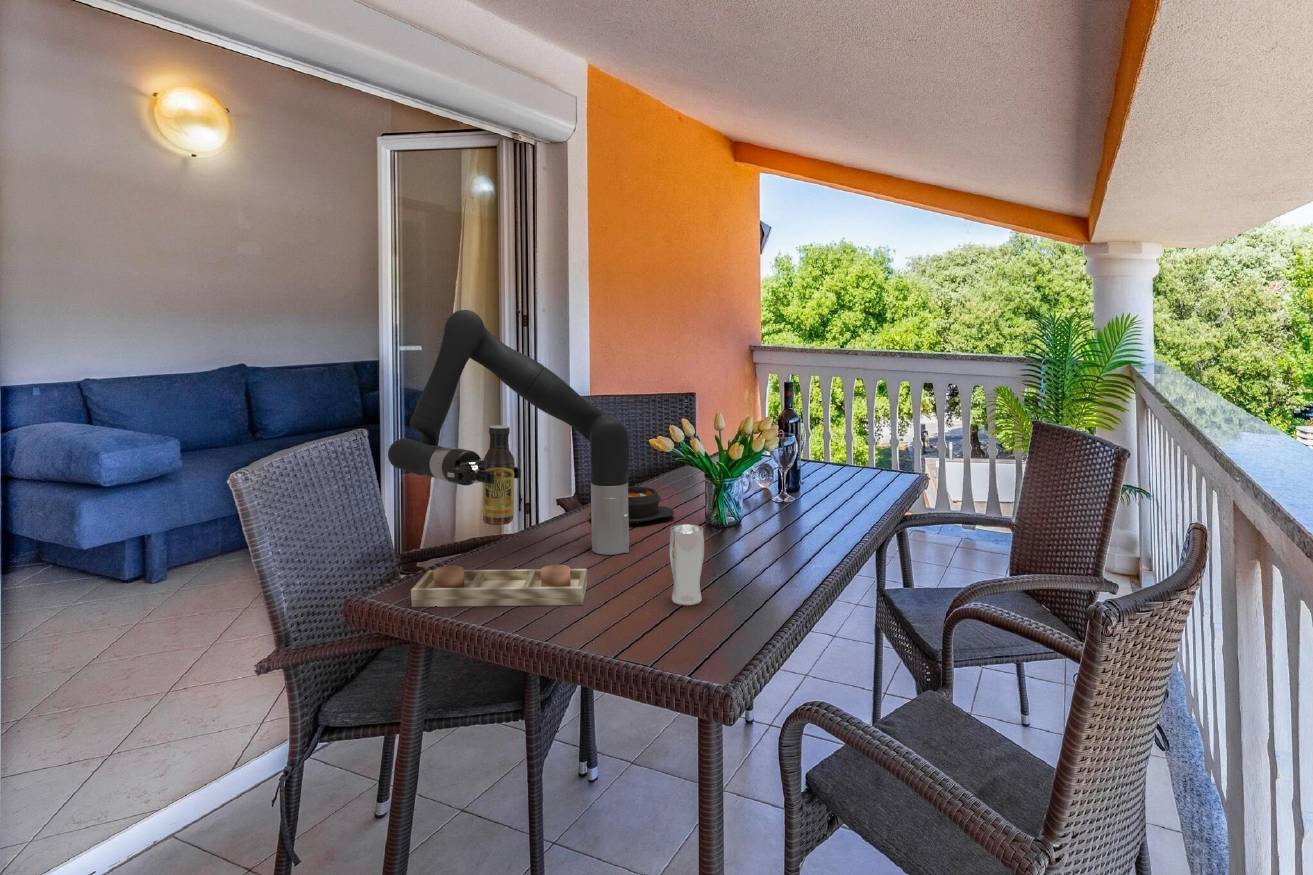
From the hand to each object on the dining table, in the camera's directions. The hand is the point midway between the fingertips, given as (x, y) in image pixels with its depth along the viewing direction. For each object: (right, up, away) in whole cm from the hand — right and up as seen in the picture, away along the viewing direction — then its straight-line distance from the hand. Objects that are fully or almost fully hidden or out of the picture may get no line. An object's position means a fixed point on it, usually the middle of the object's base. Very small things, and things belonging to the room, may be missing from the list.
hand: (505, 475), depth 146 cm
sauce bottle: (-2, -10, +3) cm, 10 cm away
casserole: (+23, -16, +66) cm, 72 cm away
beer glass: (+36, -26, +2) cm, 45 cm away
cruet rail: (-2, -25, +5) cm, 26 cm away
